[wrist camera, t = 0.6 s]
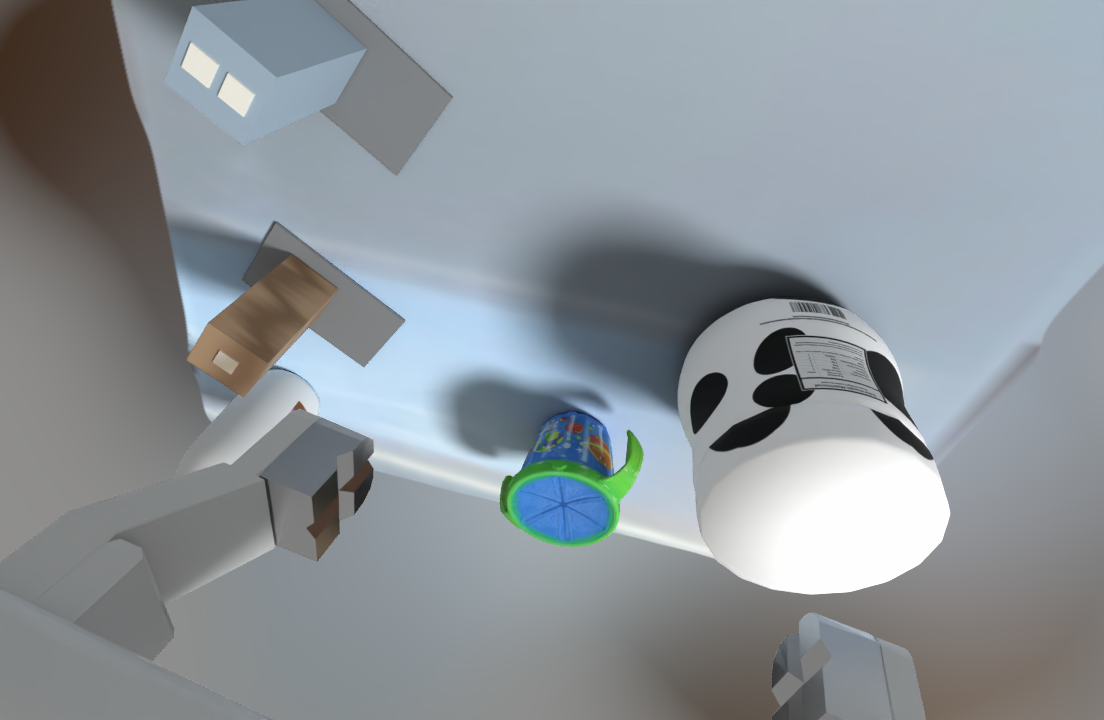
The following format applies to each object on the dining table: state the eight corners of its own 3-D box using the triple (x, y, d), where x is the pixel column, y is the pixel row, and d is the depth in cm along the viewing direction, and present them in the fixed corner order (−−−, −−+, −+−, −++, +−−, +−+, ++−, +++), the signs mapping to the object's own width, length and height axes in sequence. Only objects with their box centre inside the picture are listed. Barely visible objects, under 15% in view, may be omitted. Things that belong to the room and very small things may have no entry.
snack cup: (535, 485, 66) (518, 561, 57) (488, 420, 61) (461, 493, 53) (663, 452, 60) (664, 531, 52) (622, 377, 55) (615, 451, 47)
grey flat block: (243, 42, 42) (241, 43, 42) (287, -58, 38) (285, -58, 38) (397, 174, 46) (396, 175, 46) (452, 96, 42) (451, 97, 42)
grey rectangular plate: (243, 278, 55) (241, 279, 55) (277, 222, 51) (275, 223, 51) (365, 365, 59) (364, 367, 59) (405, 320, 55) (404, 321, 55)
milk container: (723, 457, 59) (744, 621, 44) (643, 332, 52) (636, 479, 37) (905, 399, 52) (1001, 573, 37) (841, 244, 44) (930, 384, 30)
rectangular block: (276, 54, 42) (161, 85, 32) (306, -7, 39) (190, 6, 30) (334, 104, 44) (240, 148, 34) (367, 48, 41) (275, 78, 31)
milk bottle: (244, 392, 64) (105, 539, 48) (272, 354, 60) (130, 501, 44) (303, 431, 66) (189, 584, 50) (334, 397, 62) (221, 551, 46)
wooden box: (269, 289, 55) (184, 362, 45) (291, 254, 52) (206, 323, 42) (314, 321, 56) (241, 399, 46) (338, 289, 53) (266, 364, 44)
